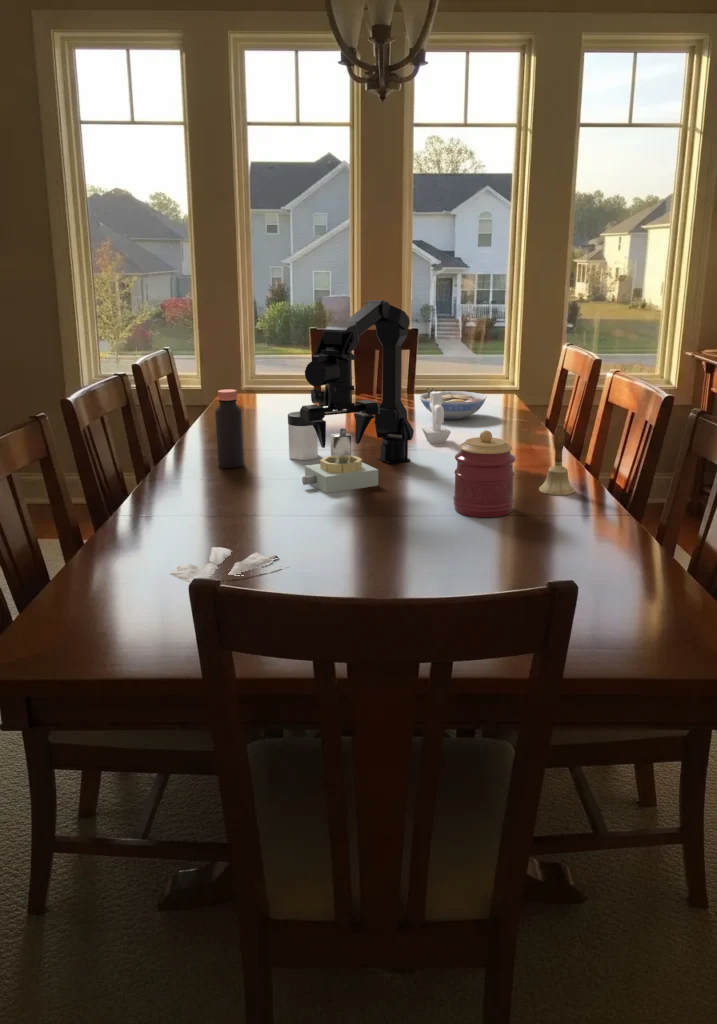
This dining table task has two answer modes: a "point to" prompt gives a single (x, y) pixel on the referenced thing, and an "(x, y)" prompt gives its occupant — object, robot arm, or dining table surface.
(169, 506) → the dining table surface
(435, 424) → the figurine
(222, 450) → the bottle
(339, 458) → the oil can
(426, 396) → the ramen bowl
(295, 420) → the jar
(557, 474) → the hand bell
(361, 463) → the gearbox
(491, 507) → the canister
